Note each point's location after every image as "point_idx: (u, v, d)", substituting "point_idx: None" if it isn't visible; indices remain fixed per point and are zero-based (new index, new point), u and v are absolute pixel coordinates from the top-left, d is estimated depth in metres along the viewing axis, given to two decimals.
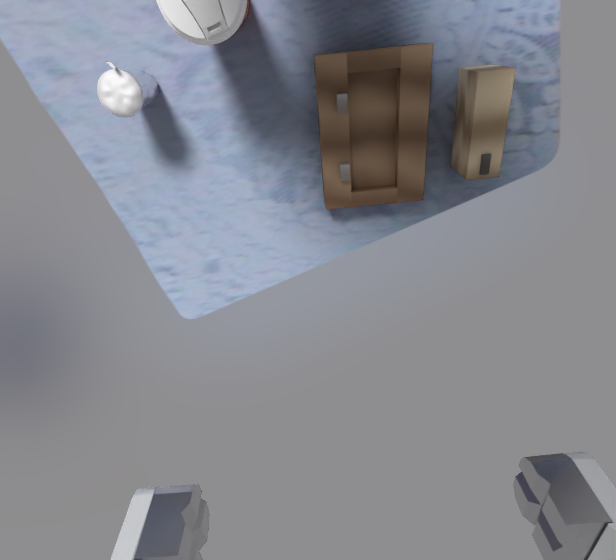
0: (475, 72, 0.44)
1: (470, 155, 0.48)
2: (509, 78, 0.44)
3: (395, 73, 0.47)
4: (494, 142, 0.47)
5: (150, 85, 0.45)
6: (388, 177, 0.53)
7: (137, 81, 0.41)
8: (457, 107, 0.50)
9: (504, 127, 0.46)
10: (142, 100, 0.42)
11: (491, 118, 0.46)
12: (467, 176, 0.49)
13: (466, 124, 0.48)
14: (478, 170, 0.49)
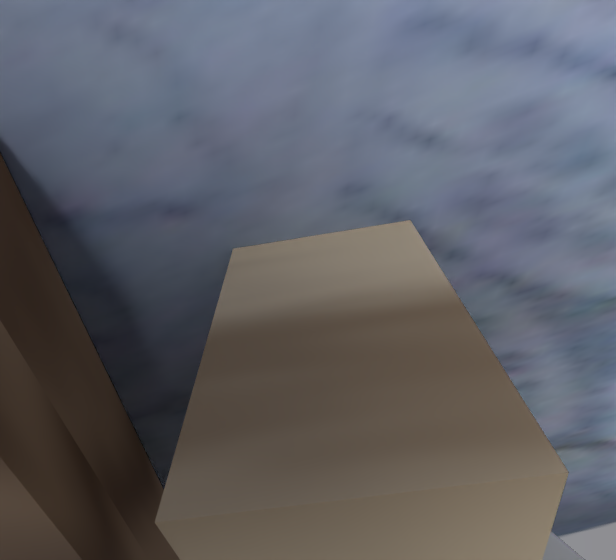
0: (178, 455, 0.05)
1: None
2: (502, 531, 0.04)
3: None
4: None
5: None
6: None
7: None
8: None
9: None
10: None
11: None
12: None
13: None
14: None
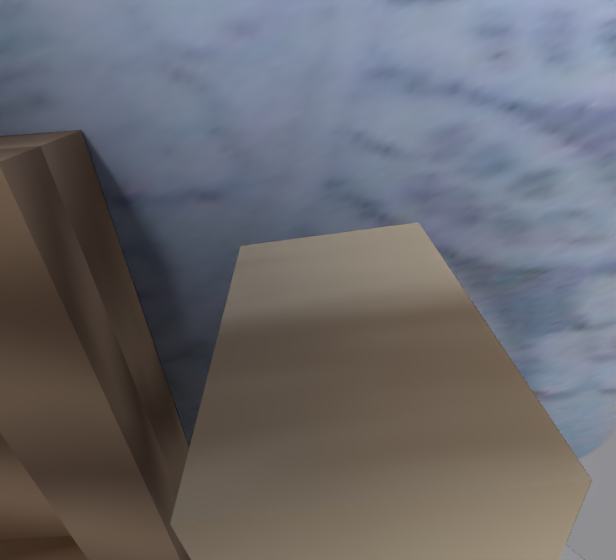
0: (191, 455, 0.05)
1: None
2: (519, 538, 0.04)
3: None
4: None
5: None
6: None
7: None
8: None
9: None
10: None
11: None
12: None
13: None
14: None
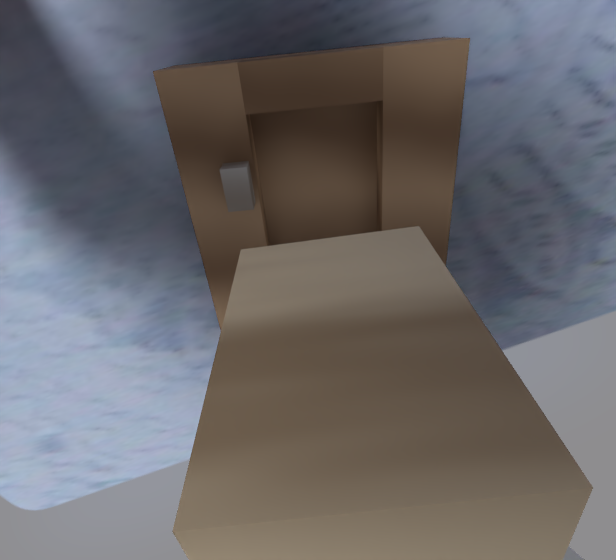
0: (193, 462, 0.05)
1: None
2: (520, 544, 0.04)
3: (371, 112, 0.19)
4: None
5: None
6: None
7: None
8: None
9: None
10: None
11: None
12: None
13: None
14: None
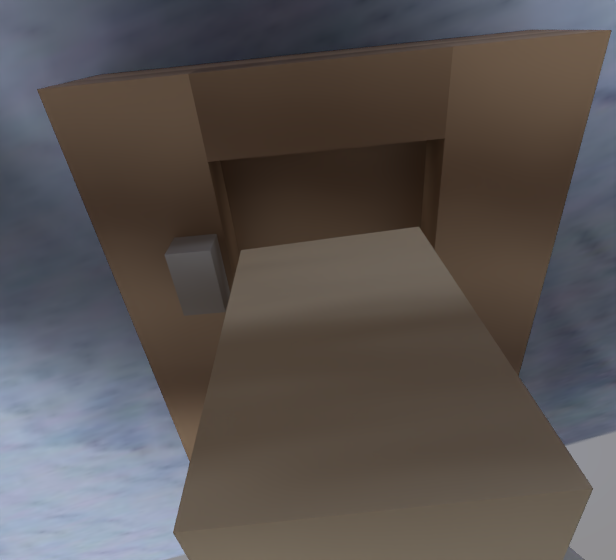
0: (193, 463, 0.05)
1: None
2: (521, 544, 0.04)
3: (418, 151, 0.12)
4: None
5: None
6: None
7: None
8: None
9: None
10: None
11: None
12: None
13: None
14: None
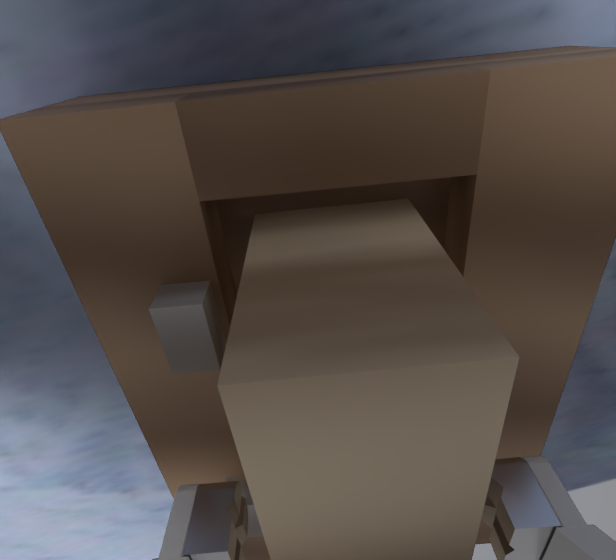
0: None
1: None
2: (470, 409, 0.06)
3: (441, 184, 0.10)
4: None
5: None
6: None
7: None
8: None
9: None
10: None
11: (375, 555, 0.08)
12: None
13: None
14: None
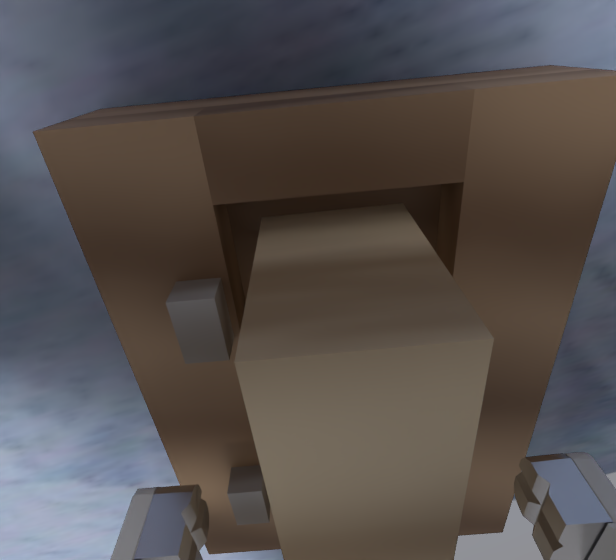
0: (241, 334, 0.07)
1: None
2: (454, 386, 0.07)
3: (433, 191, 0.11)
4: None
5: None
6: None
7: None
8: None
9: (445, 546, 0.09)
10: None
11: (371, 526, 0.09)
12: None
13: None
14: None
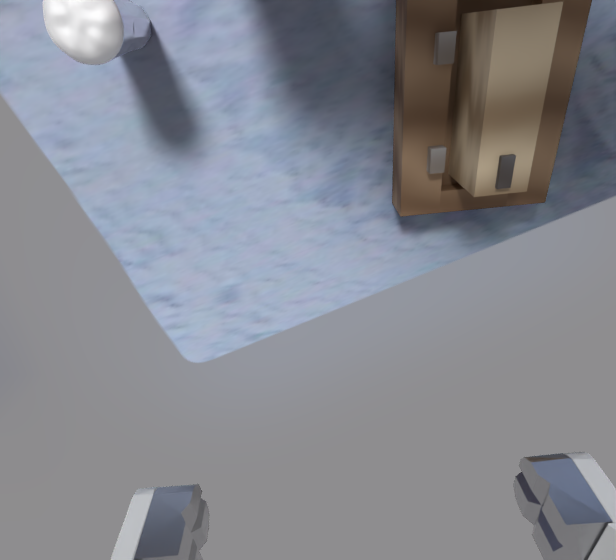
0: (491, 12, 0.25)
1: (480, 157, 0.29)
2: (551, 21, 0.25)
3: (528, 1, 0.29)
4: (520, 134, 0.28)
5: (137, 17, 0.28)
6: None
7: None
8: (459, 79, 0.31)
9: (538, 109, 0.27)
10: (122, 34, 0.24)
11: (516, 94, 0.27)
12: (475, 191, 0.30)
13: (474, 105, 0.29)
14: (493, 181, 0.30)
